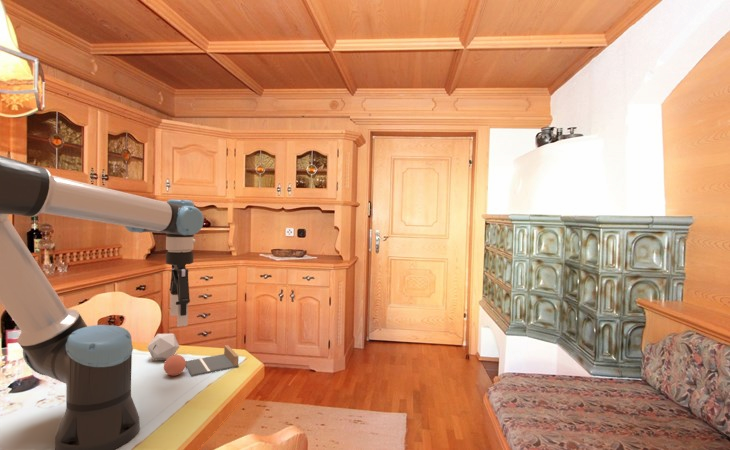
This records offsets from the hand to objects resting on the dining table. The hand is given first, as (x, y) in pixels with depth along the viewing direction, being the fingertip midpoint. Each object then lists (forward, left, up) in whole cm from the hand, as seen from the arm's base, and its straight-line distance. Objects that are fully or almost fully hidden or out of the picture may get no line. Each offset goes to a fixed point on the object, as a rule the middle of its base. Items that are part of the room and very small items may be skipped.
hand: (178, 320), depth 115 cm
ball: (-1, 0, -17) cm, 17 cm away
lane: (+10, +2, -17) cm, 20 cm away
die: (-2, +16, -17) cm, 24 cm away
